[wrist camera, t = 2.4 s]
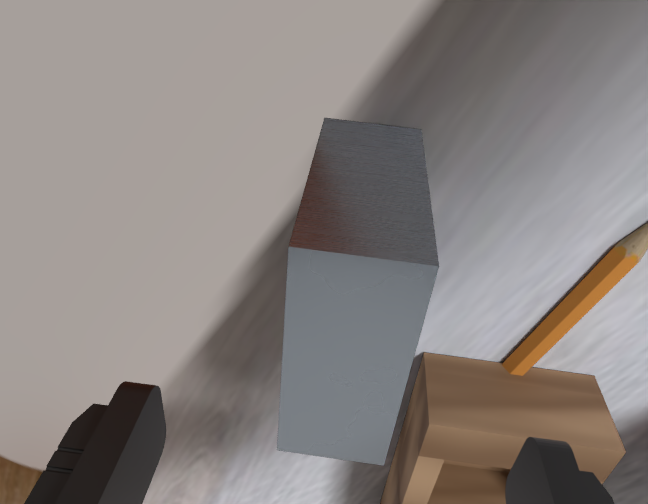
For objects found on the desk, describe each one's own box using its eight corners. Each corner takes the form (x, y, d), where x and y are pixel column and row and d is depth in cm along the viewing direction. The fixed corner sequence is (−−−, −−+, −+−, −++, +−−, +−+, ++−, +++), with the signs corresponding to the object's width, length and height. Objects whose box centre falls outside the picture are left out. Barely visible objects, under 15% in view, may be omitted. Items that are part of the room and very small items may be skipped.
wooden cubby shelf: (424, 352, 21) (429, 423, 18) (594, 375, 21) (626, 452, 18) (377, 511, 29) (376, 579, 26) (502, 530, 29) (514, 601, 26)
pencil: (404, 489, 27) (682, 215, 17) (396, 502, 27) (681, 224, 16) (390, 476, 28) (654, 198, 17) (382, 488, 27) (653, 206, 16)
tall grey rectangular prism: (324, 117, 16) (288, 246, 10) (421, 129, 16) (439, 266, 10) (308, 289, 20) (277, 450, 14) (385, 300, 20) (383, 466, 14)
